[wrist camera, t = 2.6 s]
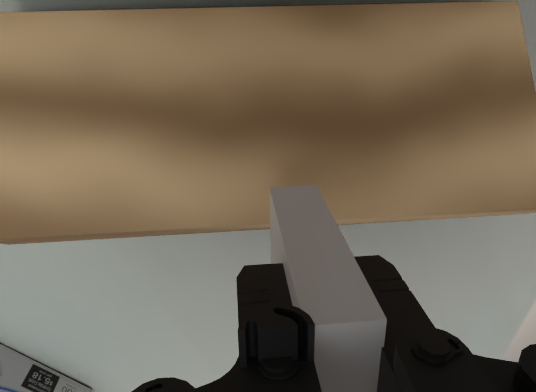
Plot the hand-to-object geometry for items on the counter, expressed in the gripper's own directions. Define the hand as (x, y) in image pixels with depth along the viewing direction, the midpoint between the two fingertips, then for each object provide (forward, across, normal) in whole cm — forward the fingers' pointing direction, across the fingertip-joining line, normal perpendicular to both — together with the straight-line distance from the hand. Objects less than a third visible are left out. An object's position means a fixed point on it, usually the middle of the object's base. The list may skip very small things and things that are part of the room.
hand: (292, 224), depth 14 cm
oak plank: (+8, 0, +1) cm, 8 cm away
